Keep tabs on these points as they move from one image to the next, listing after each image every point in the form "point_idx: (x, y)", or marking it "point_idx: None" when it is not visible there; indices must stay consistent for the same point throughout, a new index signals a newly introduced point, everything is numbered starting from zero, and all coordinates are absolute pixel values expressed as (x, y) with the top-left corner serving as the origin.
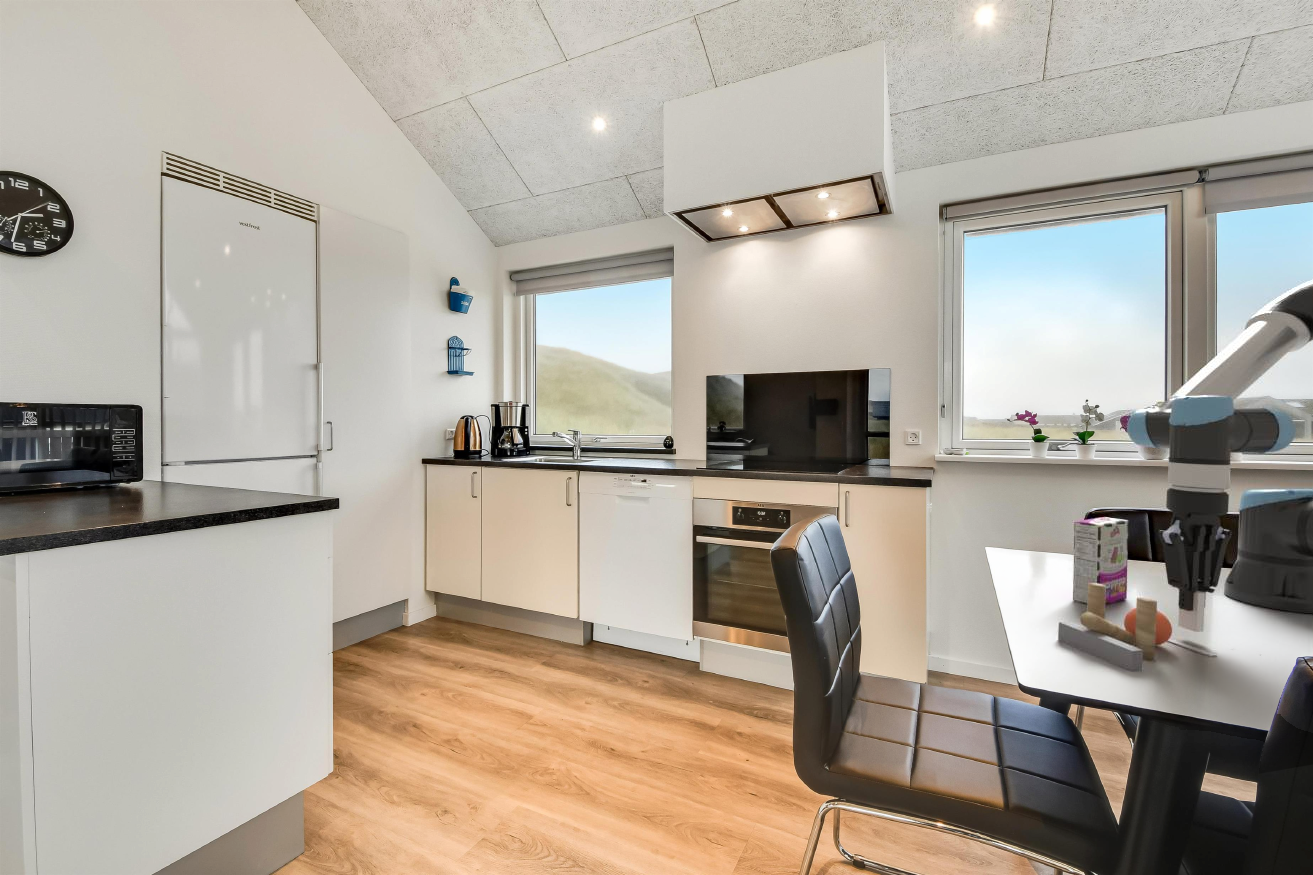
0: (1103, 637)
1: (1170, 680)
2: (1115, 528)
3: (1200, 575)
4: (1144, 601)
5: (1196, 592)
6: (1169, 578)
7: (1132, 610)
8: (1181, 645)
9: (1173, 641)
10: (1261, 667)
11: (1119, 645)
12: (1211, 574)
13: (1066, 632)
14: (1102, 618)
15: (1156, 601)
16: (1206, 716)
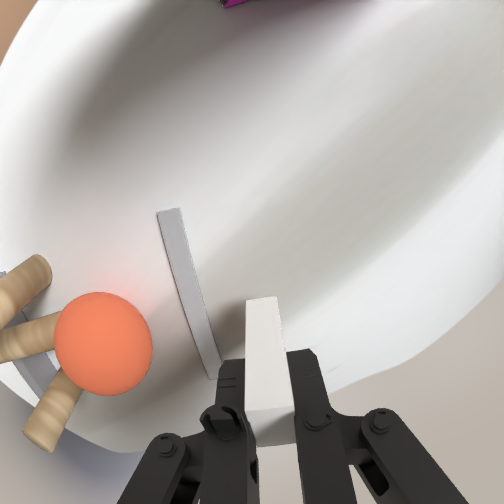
0: (16, 361)
1: (85, 405)
2: None
3: (303, 498)
4: (32, 441)
5: (261, 441)
6: (143, 467)
7: (56, 349)
8: (193, 336)
9: (194, 316)
10: None
11: (29, 385)
12: (371, 486)
13: None
14: (3, 356)
15: (52, 451)
16: (85, 438)
